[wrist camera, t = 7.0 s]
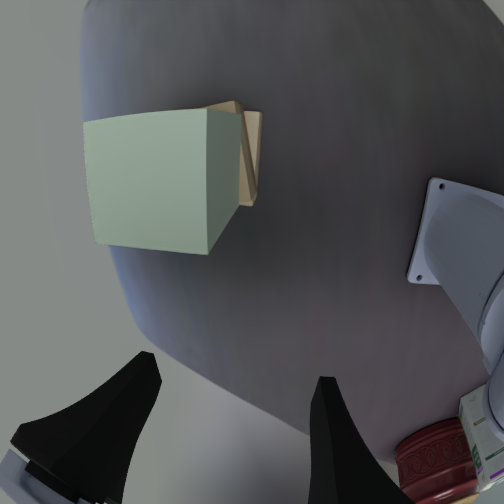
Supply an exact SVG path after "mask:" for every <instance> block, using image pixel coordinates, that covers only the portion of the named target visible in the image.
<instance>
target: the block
mask: <svg viewBox="0 0 504 504" xmlns="http://www.w3.org/2000/svg"><path fill="white" fill-rule="evenodd" d="M241 119H242V114H236V113H231V112H225V111H219V110H213V109H186V110H171V111H159V112H149V113H141V114H133V115H125V116H118V117H112V118H106V119H100V120H95V121H89V122H84V123H83V131H84V153H85V167H86V178H87V187H88V196H89V203H90V210H91V217H92V224H93V229H94V235H95V241H96V243H97V244H106V245H116V246H125V247H134V248H144V249H153V250H163V251H172V252H182V253H192V254H202V255H208V254H209V252H210V251H211V249H212V247H213V246H214V244H215V243H216V241H217V240H218V238H219V236H220V235H221V233H222V232H223V230H224V228H225V227H226V225H227V224H228V222H229V221H230V219H231V218H232V216H233V214H234V213H235V211H236V210H237V208H238V207H239V186H240V150H241Z"/></svg>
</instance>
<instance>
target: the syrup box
mask: <svg viewBox="0 0 504 504" xmlns="http://www.w3.org/2000/svg"><path fill="white" fill-rule="evenodd" d="M485 385H486V384H484V385H482V386H480V387H479V388H477V389H475V390H473V391H472V392H470V393H468V394H466V395H464V396H463V397H461V398H460V406H459V418H460V421H461V424H462V427H463V430H464V433H465V436H466V439H467V442H468V446H469V449H470V452H471V456H472V460H473V463H474V467H475V471H476V475H477V479H478V483H479V488H480V491H481V492H482V491H484V490H487V489H489V488H491V487H493V486H495V485H497V484H498V483H500V482H502V481H503V480H504V442H503V441H501V440H500V439H499V438H498V437H497V436H495V434H494V433H493V432H492V431H491V429H490V427H489V426H488V424H487V422H486V419H485V416H484V411H483V392H484V389H485Z"/></svg>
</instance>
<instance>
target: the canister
mask: <svg viewBox="0 0 504 504" xmlns="http://www.w3.org/2000/svg"><path fill="white" fill-rule="evenodd" d="M395 460H396V465H397V467H398V476H399V485H400V489H401V490H402V491H403V492H404V493H405V494H406V495H407V496H408V497H409V498H411V499H412V500H413V501H414V502H415V503H416V504H472V503H473V501H474V500H475V499H476V498H477V496H479V494H480V493H479V492H477V493H476V489H477V486H478V485H479V483H478V479H477V475H476V471H475V467H474V463H473V460H472V456H471V452H470V449H469V446H468V442H467V439H466V436H465V433H464V430H463V427H462V424H461V421H460V419H450V420H446V421H443V422H440V423H437V424H434V425H432V426H429V427H427V428H425V429H423V430H421V431H419V432H417V433H415V434H413V435H412V436H410V437H408V438H407V439H406V440H404V441H403V442H402V443H401V444H400V445H399V446H398V447H397V449H396V456H395Z"/></svg>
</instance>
